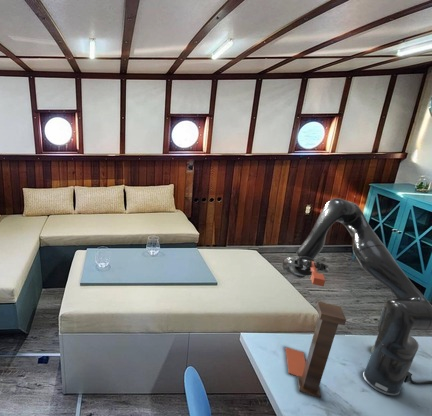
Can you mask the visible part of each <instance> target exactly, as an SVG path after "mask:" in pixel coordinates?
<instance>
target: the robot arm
mask: <svg viewBox="0 0 432 416" xmlns="http://www.w3.org/2000/svg"><path fill="white" fill-rule="evenodd" d="M336 222H337V223H340V224H342V225H343V226H344V227H345V228H346V230H347V231H348V233H349V235H350V237H351V249H352V253H353V255H354V256H355V258H356V260H357V262H358V263H359V266H360V267H362V269H363V270H364V271H365V272H366V273H367V274H369V275H370V277H373V278H374V279H376V281H379V282H380V283H381V284H383V285H384V286H385V287H387V289H389V290H390V291H391V292H392V293H393V295H394V296H395V298H391V299H388V300H387V301H386V302H385V303H384V304H383V307H382V309H381V313H380V317H379V320H378V324H377V330H378V334H377V337H376V340H375V342H374V344H375V345H374V344H373V346H374V347H373V346H372V347H373V350H372V352H371V353H370V356H369V358H368V361H367V364H366V366H365V369H364V371H363V373H362V378H363V380H364V382H365V383H366V384H367V385H368V386H369V387H371V388H372V389H374V390H376V391H377V392H379V393H381V394H383V395H387V396H391V397H395V396H396V397H397V396H398V395H399V394H400V392H401V389H402V387H403V385H404V383H405V384H406V383H408V382H410V384H413V385H429V384H432V380H425V381H414V380H413V373H412V372H409V371H410V368H411V366H412V363H413V361H414V359H415V356H416V354H417V352H418V351H419V346H420V345H419V342H418V341H417V339H416V338H415V337H413V336H412V335H411V331H432V304H431V303H430V301H429V300H428V299H427V298H426V296H424V295H423V293H422V292H421V291H420V290H419V289H418V288H417V287H416V286H415V285H414V283H413V282H412V281H411V280H410V279H409V277H408V276H407V275H406V273H405V272H404V270H403V269H402V267H400V266H399V264H398V263H397V261H396V260H395V258H394V257H393V255H392V254H391V252H390V251H389V249H388V248H387V247H386V245H385V244H384V243H383V241H382V240H381V239H380V237H379V236H378V234H377V233H376V232H375V230H373V228H372V227H371V225H370V224H369V222H368V220H367V217H366V216H365V213H364V212H363V210H362V208H361V207H360V206H359V205H358V204H357V203H355V202H353V201H350V200H347V199H343V198H338V197H336V198H331V199H329V201H327V202H326V204H325V205H324V206H323V207H322V210H321V212H320V213H319V215H318V217H317V219H316V221H315V223H314V225H313V226H312V229H311V230H310V232H309V234H308V236H307V237H306V238H305V239H304V241H303V242H302V243H301V244H300V246H299V247H298V249H297V250H296V255H297V257H294V256H287V257H285V258H284V259H283V260H282V262H281V264H280V265H281V269H282V270H283V271H285V272H286V273H288V274H289V275H292V276H293V277H295V278H296V279H300V280H302V279H304V278H306V277H307V276H311V275H312V271H311V268H310V267H311V265H312V261H313V262H314V264H315V267H316V269H317V272H318V271H321V272H324V273H325V274H326V273H329V265H328V264H326V263H323V262H321V263H320V262H319V261H315V258H316V257H317V256H318V255H319V254H320V252H321V251H322V250H323V248H324V246H325V243H326V237H327V234H328V231H329V230H330V228H331V227H332V226H333V225H334V224H335V223H336Z"/></svg>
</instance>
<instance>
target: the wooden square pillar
mask: <svg viewBox="0 0 432 416" xmlns="http://www.w3.org/2000/svg"><path fill="white" fill-rule="evenodd" d="M315 308H316V311H317V314H318V315H317V316H318V317H317V321H316V325H315V329H314V332H313V336H312V339H311V343H310V346H309V350H308V352H307V357H306V359H305V362H306V364H305V367H304V371H303V375H302V376H299V375H298V376H296V379H297V385H298V392H299V393H303V394H305V395H309V396H312V397H315V398H317V399H322V394H321V389H320V384H321V381H322V378H323V375H324V372H325V369H326V365H327V363H328V360H329V356H330V354H331V349H332V346H333V344H334V339H335V337H336V333H337V329H338V326H339V325H342V326H345V325H346V322H347V318H346V315H345V313H344V311H343V309H342V307H341V306H339V305H335V304H330V303H326V302H321V301H317V302H316V305H315Z"/></svg>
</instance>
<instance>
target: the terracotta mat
mask: <svg viewBox="0 0 432 416" xmlns="http://www.w3.org/2000/svg"><path fill="white" fill-rule="evenodd" d="M285 354H286V360H287V361H286V362H287V363H286V364H287V369H288V370H287V371H288V375H292V376H295V377H297V376H298V375H299V376H302V375H303V371H304V367H305V364H306V358H305V357H306V356H305V352H303V351H300V350H297V349H293V348H291V347H285Z"/></svg>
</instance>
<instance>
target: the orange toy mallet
mask: <svg viewBox="0 0 432 416" xmlns="http://www.w3.org/2000/svg"><path fill="white" fill-rule="evenodd" d="M310 268H311V271H312V275H310V281H311V284H312V285H314V286H315V285H316V286H318V287H319V286H320V287H324V286H325V282H326V278H325V276H324V273H321V272H318V271H317V269H316V267H315V264H314V262H313V261H312V265H311V267H310Z"/></svg>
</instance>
